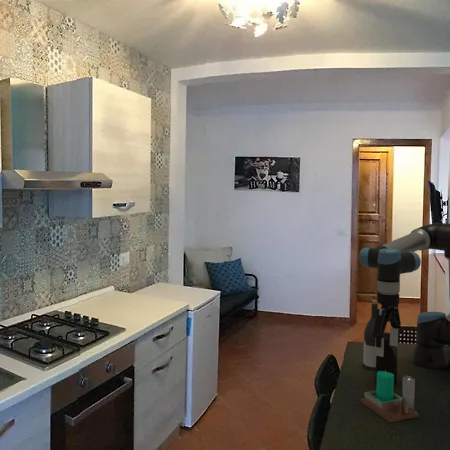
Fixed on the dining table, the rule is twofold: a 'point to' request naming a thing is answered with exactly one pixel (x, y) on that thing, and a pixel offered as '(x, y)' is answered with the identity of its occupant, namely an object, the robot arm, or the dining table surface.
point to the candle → (385, 386)
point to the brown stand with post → (394, 402)
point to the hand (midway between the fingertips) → (386, 350)
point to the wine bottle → (370, 340)
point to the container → (387, 358)
